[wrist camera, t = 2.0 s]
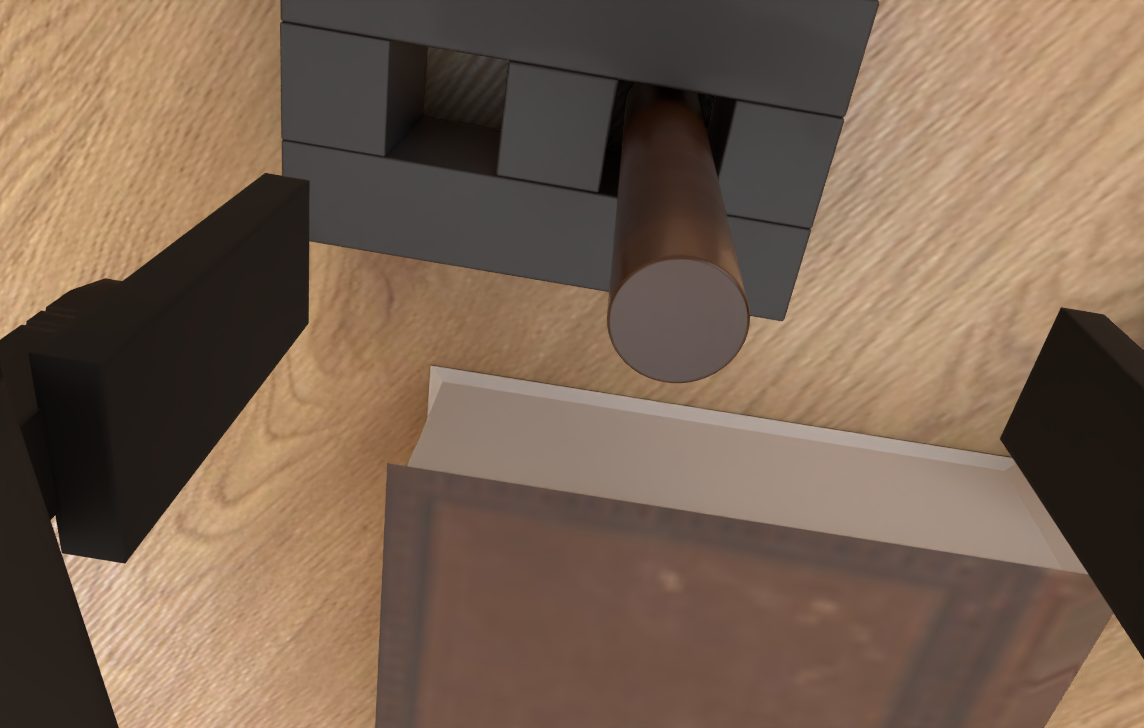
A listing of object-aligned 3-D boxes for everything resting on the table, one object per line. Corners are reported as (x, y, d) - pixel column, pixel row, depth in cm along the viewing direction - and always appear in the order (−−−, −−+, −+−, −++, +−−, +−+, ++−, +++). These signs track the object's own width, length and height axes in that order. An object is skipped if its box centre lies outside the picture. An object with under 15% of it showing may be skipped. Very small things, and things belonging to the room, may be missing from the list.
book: (1051, 464, 34) (1132, 581, 28) (843, 880, 48) (870, 1016, 42) (430, 365, 34) (387, 463, 28) (399, 810, 48) (365, 937, 42)
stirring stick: (632, 63, 28) (620, 245, 14) (706, 76, 28) (766, 269, 14) (619, 137, 29) (596, 372, 15) (690, 149, 29) (731, 394, 15)
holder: (338, -107, 26) (278, -104, 22) (842, -20, 27) (881, 0, 22) (333, 186, 31) (282, 237, 27) (764, 260, 31) (783, 322, 27)
